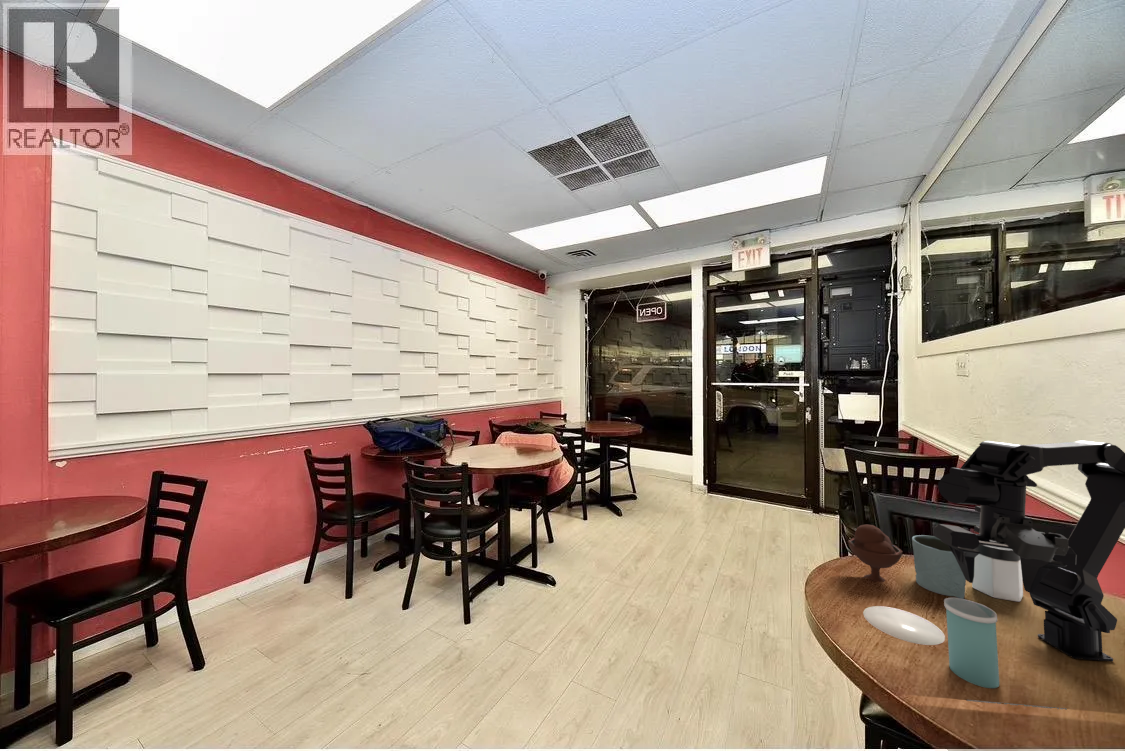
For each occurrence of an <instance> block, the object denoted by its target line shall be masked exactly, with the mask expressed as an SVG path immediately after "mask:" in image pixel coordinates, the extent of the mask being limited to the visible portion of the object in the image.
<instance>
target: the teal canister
mask: <svg viewBox="0 0 1125 751" xmlns="http://www.w3.org/2000/svg"><path fill="white" fill-rule="evenodd" d="M943 602H944V603H943V605H944V608H945V609H946V611H945V612H946V614H945V615H946V627H947V628H946V629H947V647H948V665H949V669H950V671H951V672H953V674H955V675H956V676H957V677H959V678H960V679H962V680H964V681H965V682H968V683H970V684H972V685H975V686H979V687H982V688H985V689H997V688H998V687H1000V672H999V656H998V655H999V654H998V641H997V640H998V639H997V638H998V637H997V622H998V614H997V613H996V611H994V610H993V609H992V608H990V607H988V606H986V605H984V604H982V603H978V602H976V601H973V600H968V599H966V598H964V599H961V598H957V597H948V598H947V597H946V598H944V599H943Z"/></svg>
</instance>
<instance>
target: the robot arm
mask: <svg viewBox="0 0 1125 751" xmlns="http://www.w3.org/2000/svg"><path fill="white" fill-rule="evenodd" d="M1069 465H1077V470H1078V471H1079V472H1080V473H1081V474H1083V476H1084V477H1085V478H1086V480H1085V484H1084V485H1085V487H1086V491H1087V493H1088V494H1089V496H1090V497H1089V498H1090V501H1089V502H1088V504H1087V506H1086V507H1085V509H1084V511H1083V513H1082V515H1081V516H1080V518H1079V519H1078V521H1077V523H1076V525H1075V527H1074V529H1072V531H1071V534H1070V535H1069V537H1068V538H1067V537H1066V536H1064V535H1062V534H1061V533H1054V532H1046V533H1045V532H1043V531H1037V530H1036V529H1034V526H1033V524H1034V523H1033V520H1032V518H1031V517H1028V516H1026V499H1027V487H1030V488H1031V487H1033V488H1036V487H1038V484H1037V483H1036V482H1035V480H1032V479H1031V478H1030V477H1029V476H1030V475H1031V474H1033V475H1034V474H1037V473H1040V472H1042V471H1043V470H1044V468H1047V467H1055V466H1069ZM1028 475H1029V476H1028ZM937 486H938V487H937V488H938V491H939V493H940V495H941V497H942V498H944V499H945V500H946V501H947V502H949V503H952V504H957V505H958V504H960V505H961V504H962V505H973V506H974V511H976V512H977V513H979V526H978V525H974V526H973V532H972V531H969V530H967V529H965V528H962V527H960V526H957V525H951V524H943V523H938V524H937V525H936V526H934V528H933V536H934V537H937V538H939V539H940V540H941V542H943V543H945V544H947V545H948V547H949V548H950V550H951V551H952V553H953V555H954V556H955V558H956V560H957V562H958V564H959V566H960V568H961V571H962V573H963V575H964V577H965V579H966V582H968V583H969V584H972V583H973V579H974V562H975V557H976V556H977V555H978V554H979V553H980V552H978V551H976V550H974V549H975V548H977V547H978V546H979V544H981V545H988V546H995V547H1002V548H1009V549H1012V550H1013V551H1014V553H1015V554H1016V555H1018V556H1020V561H1021V570H1022V581H1023V590H1024V591H1025V592H1027V593H1028V594H1029V595H1030V598H1031V601H1032V604H1033V605H1034V606H1036V607H1040V608H1042V609H1044V618H1043V633H1037V637H1038V638H1039V639H1040V640H1042V641H1044V642H1045V643H1048V644H1049V645H1051V646H1052V647H1054V648H1056V649H1057V650H1059V651H1060V652H1061V653H1064V654H1066V655H1067V656H1068V657H1070V658H1072V659H1076V660H1087V661H1102V662H1114V658H1113V657H1111V656H1110V655H1108V654H1107V653H1105V652H1103V636H1102V633H1104V634H1110V633H1111V631H1115V630H1116V627H1117V624H1118V623H1117V622H1118V619H1117V617H1115V615H1114V614H1113V613H1112V612H1111V611H1109V609H1107V608H1106V607H1105V606H1104V605H1103V604H1102V602H1103V599H1104V596H1105V595H1104V592H1103V590H1102V587H1101V585H1100V583H1099V579H1098V576H1099V575H1100V573H1101V571H1102V570H1103V567H1104V566H1105V563H1106V562H1107V560H1108V559H1109V557H1110V556H1111V553H1112V551H1113V550H1114V548H1115V546H1116V544H1117V543H1118V541H1119V539H1120V538H1121V536H1122V534H1123V532H1124V530H1125V451H1124V450H1122V449H1121V447H1119V446H1117V445H1116V444H1112V443H1110V442H1101V441H1093V440H1091V441H1090V440H1082V439H1081V440H1076V441H1070V442H1069V441H1068V442H1055V443H1054V442H1053V443H1038V444H1018V443H1011V442H1010V443H1009V442H1002V441H993V440H985V441H982V442H980V443H979V445H978V446H977V448H975V450H973V452H972V453H971V455H970V456H969V457H967V459H966V461H965V462H964V463H963V464H962V465H961V466H960V468H958V467H950V468H949V472H948V473H947V474H944V475H942V477H940V480H939V481H938V482H937ZM974 532H976V533H974ZM989 540H991V541H989ZM993 541H996V542H993Z"/></svg>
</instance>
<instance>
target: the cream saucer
mask: <svg viewBox="0 0 1125 751" xmlns="http://www.w3.org/2000/svg"><path fill="white" fill-rule="evenodd" d="M862 614H863V616H864V619H865V620H866V621H867V622H868V623H869V624H870V625H871V626H872V627H874V628H876V629H877V630H879V631H881V632H883V633H885V634H886V635H889V636H891V637H894V638H896V639H899V640H901V641H905V642H908V643H911V644H918V645H924V646H925V645H926V646H935V645H940V644H942V643H944V642H945V640H946V636H945V634H944V632H943V631H942V630H941V629H940V628H939V627H938V626H937V625H935V624H934V622H931V621H929V620H927V619H926V618H925V617H924V618H923V617H922V616H920V615H917V614H915V613H912V612H909V611H907V610H903V609H899V608H897V607H896V608H895V607H889V606H883V605H876V606H875V605H873V606H869V607H866V608H865V609H864V610H863V613H862Z"/></svg>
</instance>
